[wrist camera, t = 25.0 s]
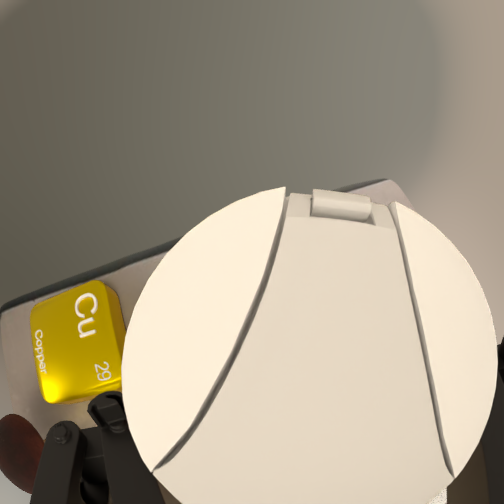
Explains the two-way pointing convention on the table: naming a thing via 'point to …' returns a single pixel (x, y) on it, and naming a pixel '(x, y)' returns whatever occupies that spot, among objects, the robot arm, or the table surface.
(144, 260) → the table surface
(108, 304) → the element tile
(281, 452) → the paper cup
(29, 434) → the decorative mushroom
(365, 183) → the table surface
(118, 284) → the table surface
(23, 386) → the table surface
